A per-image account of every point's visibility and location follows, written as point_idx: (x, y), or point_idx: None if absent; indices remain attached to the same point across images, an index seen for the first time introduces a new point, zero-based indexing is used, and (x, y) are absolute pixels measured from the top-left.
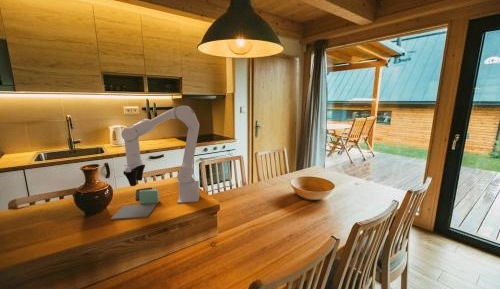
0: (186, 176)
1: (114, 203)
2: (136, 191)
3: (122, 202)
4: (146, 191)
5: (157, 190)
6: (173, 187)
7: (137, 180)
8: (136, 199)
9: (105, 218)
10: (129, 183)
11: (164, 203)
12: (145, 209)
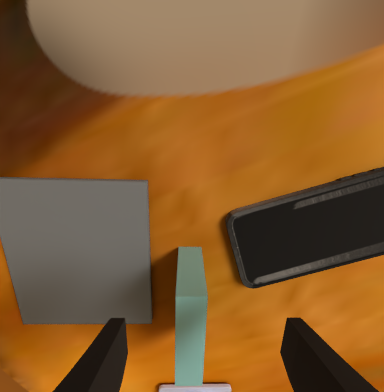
0: None
1: (213, 97)
2: (372, 176)
3: (219, 144)
4: (176, 335)
5: (185, 382)
6: (368, 337)
7: (288, 323)
8: (228, 219)
9: (7, 137)
10: (93, 342)
11: (166, 341)
12: (90, 298)
